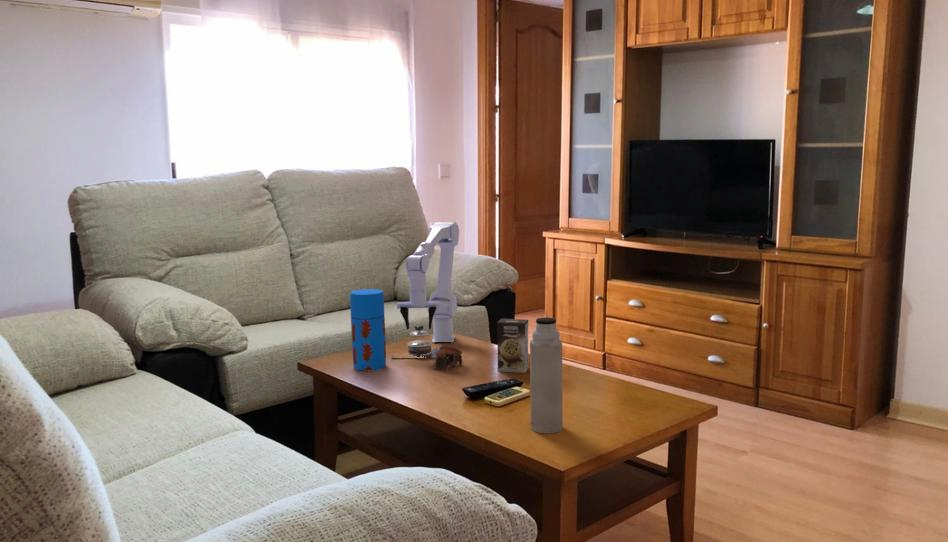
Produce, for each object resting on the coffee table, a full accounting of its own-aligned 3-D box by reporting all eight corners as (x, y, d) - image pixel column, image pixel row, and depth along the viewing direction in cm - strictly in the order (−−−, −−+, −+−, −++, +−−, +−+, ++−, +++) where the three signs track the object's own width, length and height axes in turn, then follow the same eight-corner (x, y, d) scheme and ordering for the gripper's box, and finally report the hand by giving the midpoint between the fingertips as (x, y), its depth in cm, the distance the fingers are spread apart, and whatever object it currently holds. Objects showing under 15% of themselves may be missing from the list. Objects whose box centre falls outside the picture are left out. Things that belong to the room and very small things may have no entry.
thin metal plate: (396, 349, 279) (396, 339, 279) (446, 348, 279) (446, 338, 278) (391, 358, 266) (391, 348, 266) (444, 358, 266) (444, 347, 265)
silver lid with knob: (411, 332, 275) (410, 324, 274) (429, 332, 275) (428, 323, 274) (409, 336, 269) (408, 328, 268) (427, 336, 268) (427, 327, 268)
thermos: (383, 371, 252) (380, 294, 248) (350, 371, 252) (347, 295, 248) (388, 362, 262) (385, 288, 259) (356, 362, 263) (353, 289, 259)
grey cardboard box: (497, 371, 248) (496, 322, 246) (501, 366, 254) (500, 317, 252) (525, 373, 246) (525, 322, 243) (529, 367, 252) (528, 318, 250)
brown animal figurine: (426, 369, 255) (432, 345, 257) (450, 378, 259) (456, 354, 262) (444, 367, 245) (450, 342, 247) (469, 377, 249) (475, 352, 251)
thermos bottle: (529, 423, 200) (527, 315, 196) (560, 422, 200) (559, 315, 196) (532, 434, 192) (531, 322, 188) (564, 433, 193) (564, 321, 188)
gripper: (395, 292, 266) (396, 331, 268) (438, 291, 265) (439, 330, 267) (397, 288, 273) (399, 326, 275) (439, 288, 272) (440, 326, 274)
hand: (418, 328), depth 271 cm, fingers open, 7 cm apart
